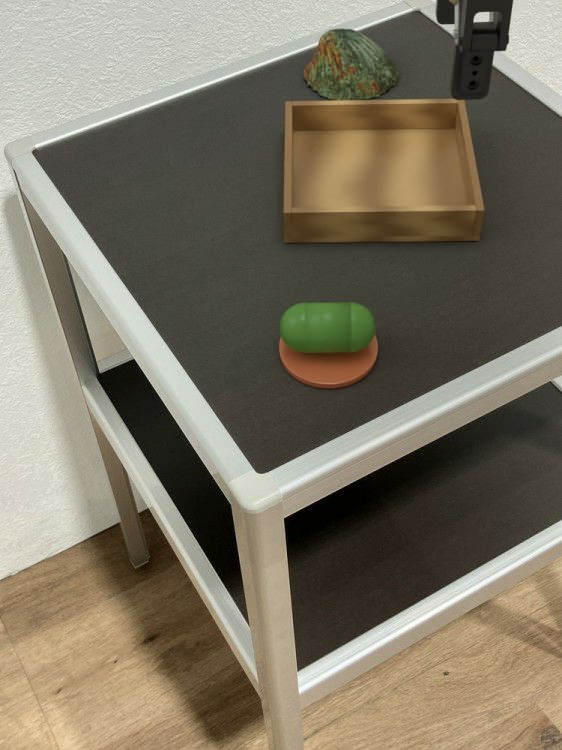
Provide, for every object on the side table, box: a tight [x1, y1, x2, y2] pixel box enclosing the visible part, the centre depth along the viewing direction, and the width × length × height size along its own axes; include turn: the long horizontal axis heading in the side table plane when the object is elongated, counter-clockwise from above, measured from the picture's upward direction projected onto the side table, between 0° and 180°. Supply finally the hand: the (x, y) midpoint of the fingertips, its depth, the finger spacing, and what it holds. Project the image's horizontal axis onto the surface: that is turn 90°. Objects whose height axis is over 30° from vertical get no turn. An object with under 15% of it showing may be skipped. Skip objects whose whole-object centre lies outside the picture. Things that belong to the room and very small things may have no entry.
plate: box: [278, 334, 379, 390], centre depth 78 cm, size 8×8×1 cm
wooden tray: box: [283, 98, 485, 244], centre depth 90 cm, size 17×16×4 cm
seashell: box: [303, 28, 400, 101], centre depth 102 cm, size 10×4×10 cm
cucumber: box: [279, 301, 377, 353], centre depth 77 cm, size 8×4×4 cm, turn 89°
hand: (459, 57), depth 61 cm, fingers open, 8 cm apart
